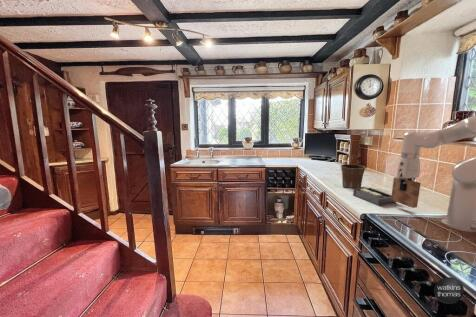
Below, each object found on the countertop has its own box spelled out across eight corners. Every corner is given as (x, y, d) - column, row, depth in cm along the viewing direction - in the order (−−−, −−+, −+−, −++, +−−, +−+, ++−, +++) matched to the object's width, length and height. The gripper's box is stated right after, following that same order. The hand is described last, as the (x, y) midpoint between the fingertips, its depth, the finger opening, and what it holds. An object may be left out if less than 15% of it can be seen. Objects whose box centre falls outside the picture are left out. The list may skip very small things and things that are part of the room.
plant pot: (340, 189, 159) (342, 167, 157) (337, 183, 175) (339, 163, 172) (366, 191, 155) (368, 169, 152) (360, 185, 170) (362, 164, 167)
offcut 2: (380, 202, 131) (381, 194, 130) (375, 203, 130) (376, 195, 129) (372, 199, 136) (373, 191, 135) (368, 200, 135) (369, 192, 134)
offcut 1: (371, 199, 137) (372, 191, 136) (366, 199, 136) (367, 191, 135) (364, 196, 142) (364, 188, 141) (359, 196, 141) (360, 189, 140)
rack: (395, 204, 130) (396, 196, 129) (377, 207, 126) (378, 198, 126) (369, 195, 147) (370, 187, 147) (352, 196, 144) (353, 189, 143)
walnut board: (417, 207, 114) (420, 182, 112) (412, 207, 113) (416, 183, 111) (395, 199, 126) (398, 177, 123) (391, 199, 125) (393, 177, 123)
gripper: (405, 157, 109) (400, 193, 112) (429, 156, 114) (424, 191, 117) (390, 155, 116) (386, 189, 120) (414, 154, 121) (409, 186, 124)
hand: (405, 189), depth 118 cm, fingers closed on walnut board, 3 cm apart
